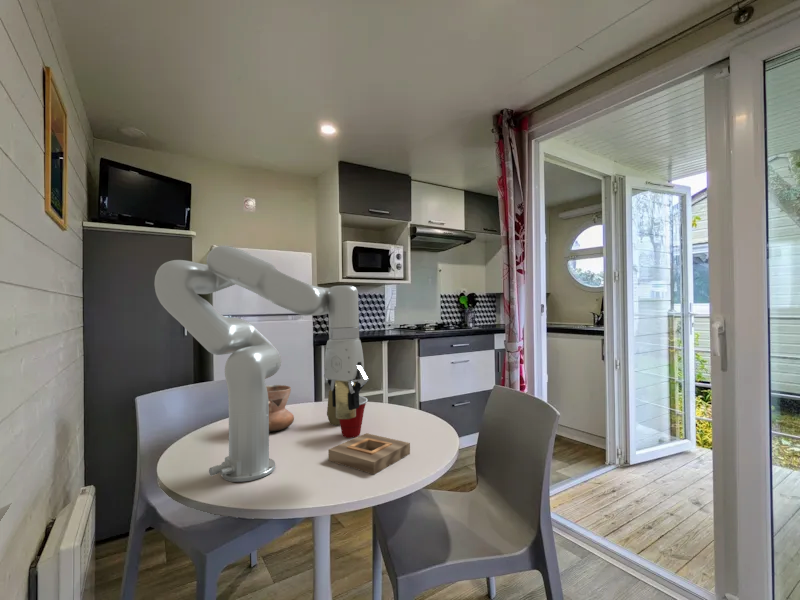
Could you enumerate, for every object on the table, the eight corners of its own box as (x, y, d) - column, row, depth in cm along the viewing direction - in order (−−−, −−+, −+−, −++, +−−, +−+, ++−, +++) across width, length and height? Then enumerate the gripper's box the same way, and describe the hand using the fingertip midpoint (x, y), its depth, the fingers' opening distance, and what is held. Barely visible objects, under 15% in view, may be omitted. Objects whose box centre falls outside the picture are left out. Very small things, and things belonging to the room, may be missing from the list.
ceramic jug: (286, 435, 122) (287, 392, 123) (242, 436, 122) (242, 392, 122) (299, 421, 140) (300, 382, 141) (261, 421, 140) (261, 383, 140)
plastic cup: (351, 443, 114) (351, 403, 114) (327, 436, 121) (327, 399, 121) (375, 433, 123) (374, 397, 123) (351, 428, 129) (351, 393, 130)
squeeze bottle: (354, 421, 136) (353, 372, 137) (339, 428, 129) (339, 376, 130) (337, 419, 140) (336, 371, 141) (322, 424, 133) (321, 374, 134)
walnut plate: (374, 474, 92) (374, 461, 92) (328, 460, 101) (328, 448, 101) (410, 453, 105) (409, 441, 105) (366, 443, 114) (366, 432, 114)
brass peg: (345, 420, 90) (344, 378, 90) (331, 417, 93) (330, 377, 93) (360, 415, 94) (359, 375, 94) (346, 412, 97) (345, 374, 97)
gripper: (310, 335, 96) (311, 406, 95) (358, 336, 86) (360, 415, 85) (332, 333, 102) (333, 400, 101) (379, 334, 92) (381, 408, 91)
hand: (345, 406), depth 93 cm, fingers closed on brass peg, 5 cm apart
